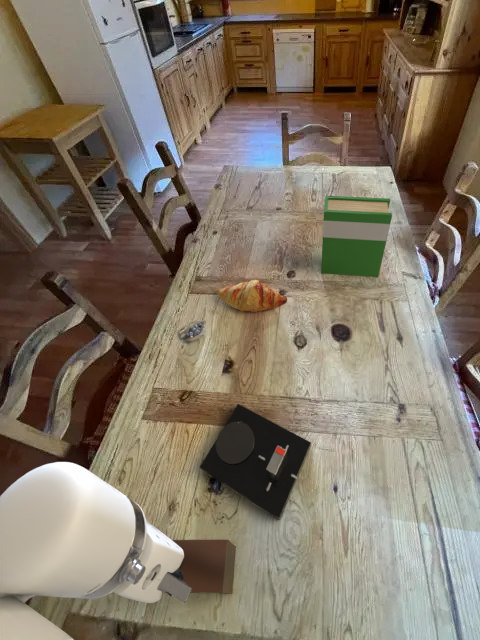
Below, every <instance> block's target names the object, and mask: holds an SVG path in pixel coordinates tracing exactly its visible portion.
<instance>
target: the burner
mask: <svg viewBox="0 0 480 640" xmlns="http://www.w3.org/2000/svg"><path fill="white" fill-rule="evenodd" d="M224 426H225V425H224ZM224 426H223V427H224ZM223 427H222V429H221V430H220V431H219V433H218V434H217V437H216V439H217V440H216V439H215V441H216V451H217V454H218V456H219V457H220V459H221V460H222V461H224V462H225V463H227V464H239V463H241V462H243V461H245V460H246V459H247V458H248V457H249V456H250V455H251V453H252V451H253V448H254V444H255V438H254V434H253V431H252V429H251V428H250V427H249V426H248V425H247V424H245V423H242V422H232V423H230V424H228V425H226V426H225V427H224V428H223Z"/></svg>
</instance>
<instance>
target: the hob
mask: <svg viewBox="0 0 480 640" xmlns="http://www.w3.org/2000/svg"><path fill="white" fill-rule="evenodd" d="M232 422H242V423H245V424H247V425H248V426H249V427H250V428H251V429H252V431H253V434H254V438H255V444H254V448H253V451H252V453H251V455H250V456H249V457H248V458H247V459H246V460H245V461H243V462H241V463H239V464H227V463H225V462H224V461H222V460H221V459H220V457H219V456H218V454H217V451H216V440H217V438H216V439H215V441H214V443H213V444H212V445H211V447H210V449H209V451H208V452H207V454H206V455H205V458H204V459H203V461H202V462H201V464H200V465H199V469H200V470H201V471H202V472H203V473H204V474H206V475H208V476H209V477H211V478H213V479H214V480H216V481H217V482H219V483H220V484H222V485H223V486H225V487H226V488H228V489H230V490H231V491H232V492H234V493H236V494H237V495H238V496H241V497H242V498H244V499H245V500H247V501H248V502H250V503H251V504H253V505H255V506H256V507H258V508H260V510H263V511H264V512H265V513H267V514H268V515H270V516H271V517H273V518H275V519H276V520H278V521H281V519H282V517H283V514H284V512H285V510H286V507H287V505H288V502H289V500H290V498H291V495H292V493H293V491H294V488H295V485H296V483H297V481H298V479H299V477H300V474H301V471H302V468H303V467H304V465H305V462H306V460H307V457H308V455H309V452H310V449H311V447H312V442H311V441H309V440H308V439H306V438H303V437H302V436H300V435H298V434H296V433H294V432H292V431H290V430H289V429H287V428H285V427H283V426H281V425H279V424H277V423H276V422H273V421H271V420H270V419H268V418H266V417H264V416H262V415H260V414H259V413H256V412H254V411H252V410H251V409H249V408H247V407H245V406H243V405H241V404H240V403H237V404H236V405H235V407H234V409H233V411H232V413H231V414H230V416H229V417H228V418H227V421H226V423H225V424H224V426H223V427H222V429H223V428H224V427H225V426H226V425H228V424H230V423H232ZM277 446H280V447H281V448H283V449H285V450H287V458H288V459H287V461H286V463H285V465H284V467H283V470H282V472H281V474H280V476H279V478H278V481H275V480H273V479H272V478H270V477H268V474H267V471H266V468H267V466H268V464H269V462H270V460H271V458H272V456H273V454H274V452H275V450H276V447H277Z"/></svg>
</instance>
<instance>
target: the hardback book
mask: <svg viewBox="0 0 480 640" xmlns="http://www.w3.org/2000/svg"><path fill="white" fill-rule="evenodd" d="M390 204H391V198H389V197H388V198H387V197H386V198H385V197H364V196H363V197H362V196H344V195H343V196H341V195H325V197H324V207H323V224H322V241H321V242H322V243H321V265H320V274H327V275H342V276H356V277H367V278H368V277H371V278H379V276H380V272H381V267H382V262H383V260H384V255H385V249H386V245H387V241H388V236H389V231H390V228H391V224H392V223H391V222H392V219H393V212H389V209H390Z"/></svg>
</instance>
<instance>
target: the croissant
mask: <svg viewBox="0 0 480 640" xmlns="http://www.w3.org/2000/svg"><path fill="white" fill-rule="evenodd" d="M216 295H217V296H218V297H219V298H220V299H221V300H222V301H223V302H225V304H227V305H228V306H230V307H231V308H234V309H236V310H240V312H242V313H243V312H254V313H256V312H262V311H265V310H271V309H275V308H276V309H277V308H279V307H281V306H283V305H285V304H286V303H287V302H288V297H287V296H286V295H282V294H280V292H279V291H278V290H274V289H273V288H270V287H269V285H268V284H265V283H262V282H260V281H259V280H258V279H251V280H250V281H243V282H240V283H238V284H237V285H229V286H226V287H224V288H218V289H217V290H216Z"/></svg>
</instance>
